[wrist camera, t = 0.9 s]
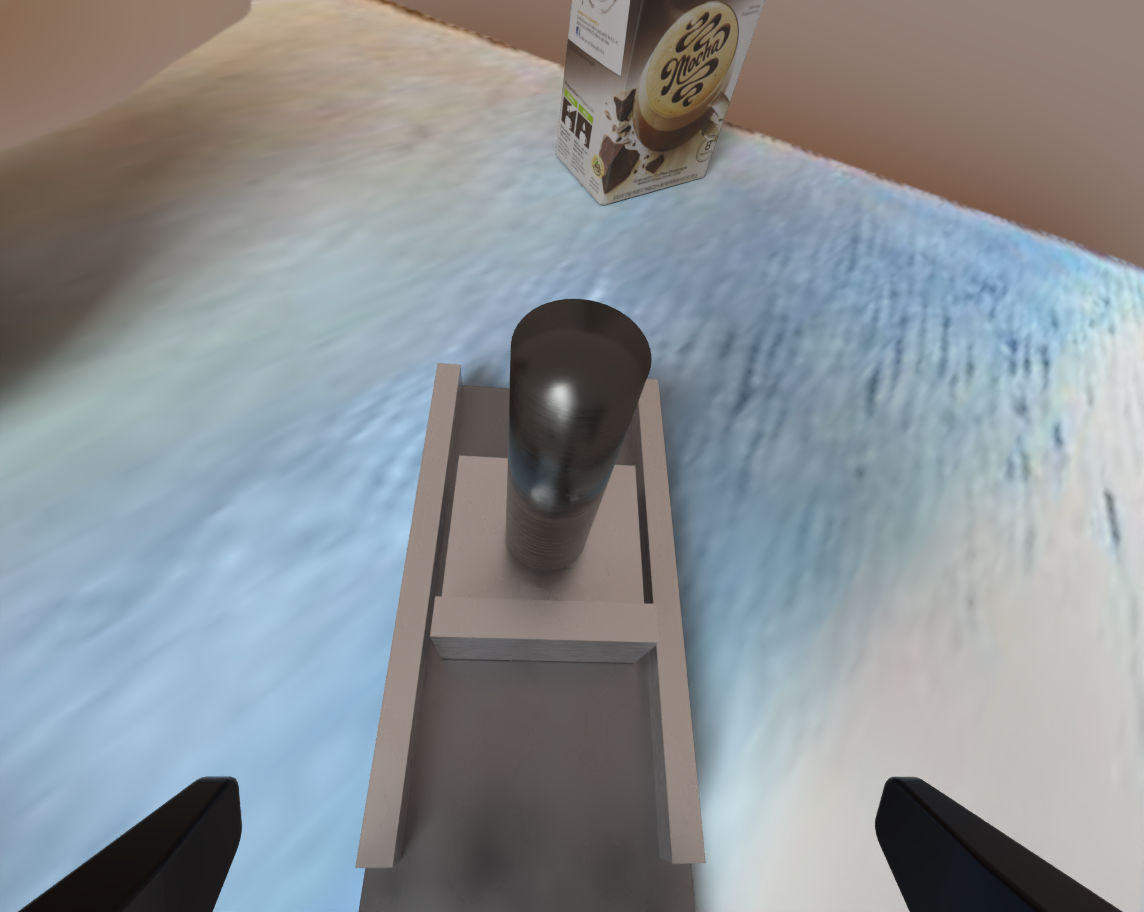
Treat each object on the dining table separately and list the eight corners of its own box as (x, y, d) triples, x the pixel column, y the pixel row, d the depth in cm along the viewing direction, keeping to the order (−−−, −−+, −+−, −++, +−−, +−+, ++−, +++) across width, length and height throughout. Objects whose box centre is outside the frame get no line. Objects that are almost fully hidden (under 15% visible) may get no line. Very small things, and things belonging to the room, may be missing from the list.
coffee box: (602, 210, 36) (667, -145, 22) (553, 155, 38) (583, -195, 24) (708, 179, 39) (823, -148, 25) (656, 130, 42) (735, -193, 28)
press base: (726, 1489, 13) (847, 1868, 8) (273, 1548, 12) (137, 2013, 7) (643, 416, 28) (670, 348, 23) (443, 402, 27) (432, 330, 22)
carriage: (634, 662, 20) (777, 544, 10) (441, 658, 19) (376, 525, 9) (625, 488, 24) (721, 267, 13) (462, 479, 23) (432, 239, 13)
